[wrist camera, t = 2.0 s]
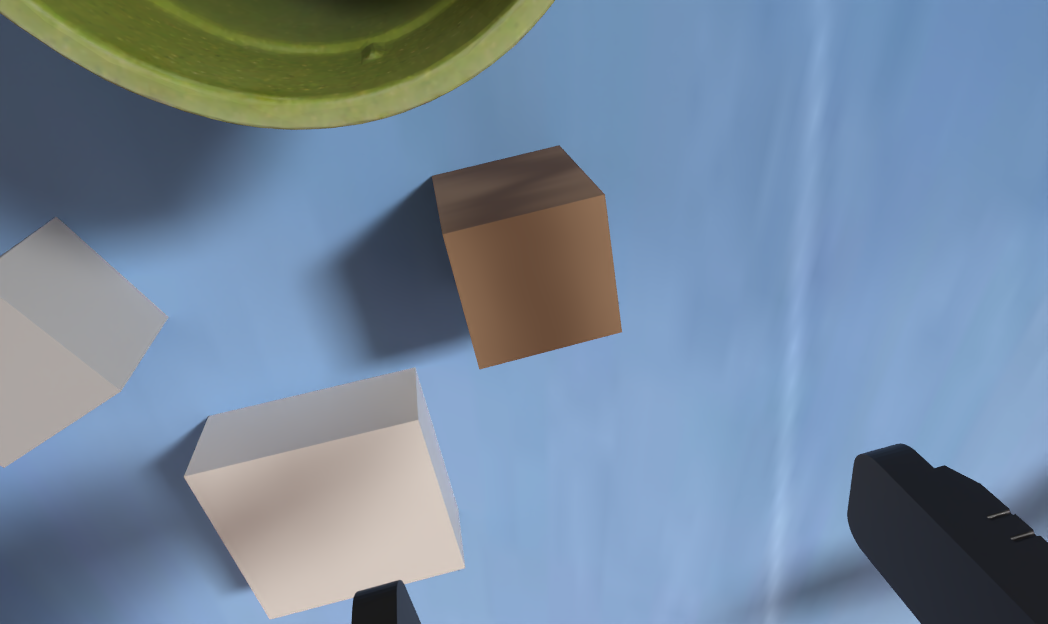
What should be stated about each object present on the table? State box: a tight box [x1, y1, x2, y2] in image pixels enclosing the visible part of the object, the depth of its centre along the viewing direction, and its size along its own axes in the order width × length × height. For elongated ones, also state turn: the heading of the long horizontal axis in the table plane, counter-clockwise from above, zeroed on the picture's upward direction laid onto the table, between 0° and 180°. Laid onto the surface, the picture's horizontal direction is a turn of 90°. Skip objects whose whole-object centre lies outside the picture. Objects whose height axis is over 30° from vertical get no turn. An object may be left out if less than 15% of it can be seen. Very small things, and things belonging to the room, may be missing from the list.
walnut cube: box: [432, 146, 622, 369], centre depth 22 cm, size 5×5×6 cm
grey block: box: [0, 217, 168, 468], centre depth 21 cm, size 5×5×5 cm
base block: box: [184, 368, 465, 619], centre depth 28 cm, size 9×9×4 cm
